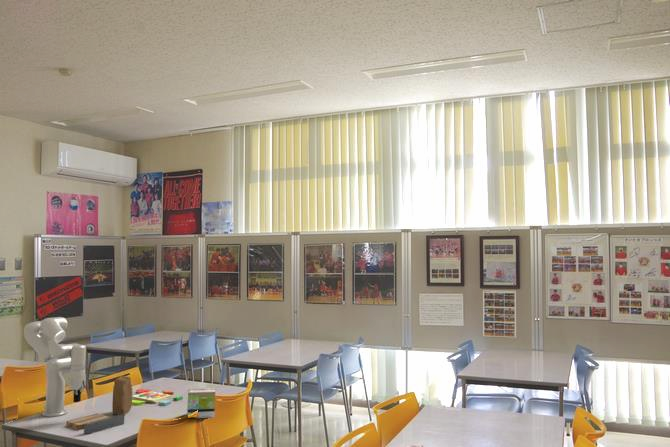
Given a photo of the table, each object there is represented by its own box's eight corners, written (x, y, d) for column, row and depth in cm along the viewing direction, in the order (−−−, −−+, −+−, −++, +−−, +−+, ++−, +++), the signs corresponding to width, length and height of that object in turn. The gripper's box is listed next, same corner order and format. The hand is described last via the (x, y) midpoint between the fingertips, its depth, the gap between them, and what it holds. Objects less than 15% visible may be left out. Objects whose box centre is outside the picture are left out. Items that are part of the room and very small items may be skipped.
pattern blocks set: (192, 395, 356) (192, 390, 356) (163, 408, 324) (164, 403, 324) (141, 390, 366) (141, 386, 366) (108, 403, 333) (109, 398, 334)
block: (121, 415, 307) (123, 379, 309) (110, 414, 309) (112, 378, 311) (133, 410, 318) (135, 375, 319) (122, 409, 320) (124, 375, 321)
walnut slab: (66, 426, 287) (66, 421, 287) (97, 418, 302) (97, 413, 302) (78, 431, 280) (79, 425, 281) (110, 422, 295) (110, 417, 296)
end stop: (83, 433, 275) (84, 423, 276) (121, 422, 294) (121, 413, 294) (86, 434, 274) (87, 424, 274) (124, 423, 292) (124, 414, 293)
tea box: (187, 419, 302) (188, 392, 303) (187, 414, 312) (188, 388, 313) (214, 417, 306) (215, 391, 307) (213, 412, 316) (214, 387, 317)
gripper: (63, 367, 300) (62, 401, 299) (79, 370, 292) (78, 405, 291) (76, 365, 306) (75, 398, 305) (92, 367, 299) (91, 402, 297)
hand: (77, 401), depth 298 cm, fingers closed
